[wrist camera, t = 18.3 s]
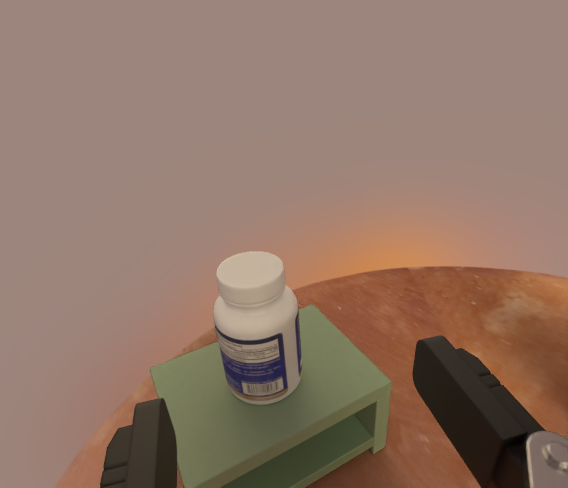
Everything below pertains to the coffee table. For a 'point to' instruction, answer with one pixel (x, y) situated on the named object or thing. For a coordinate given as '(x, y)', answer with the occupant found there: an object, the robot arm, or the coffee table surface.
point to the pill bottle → (257, 328)
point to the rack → (276, 414)
